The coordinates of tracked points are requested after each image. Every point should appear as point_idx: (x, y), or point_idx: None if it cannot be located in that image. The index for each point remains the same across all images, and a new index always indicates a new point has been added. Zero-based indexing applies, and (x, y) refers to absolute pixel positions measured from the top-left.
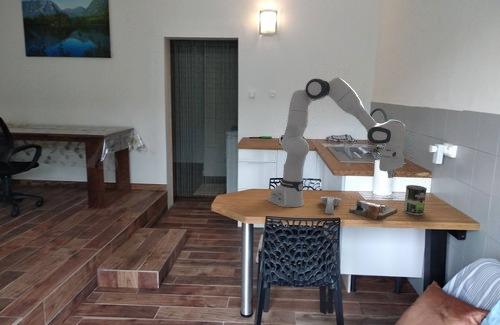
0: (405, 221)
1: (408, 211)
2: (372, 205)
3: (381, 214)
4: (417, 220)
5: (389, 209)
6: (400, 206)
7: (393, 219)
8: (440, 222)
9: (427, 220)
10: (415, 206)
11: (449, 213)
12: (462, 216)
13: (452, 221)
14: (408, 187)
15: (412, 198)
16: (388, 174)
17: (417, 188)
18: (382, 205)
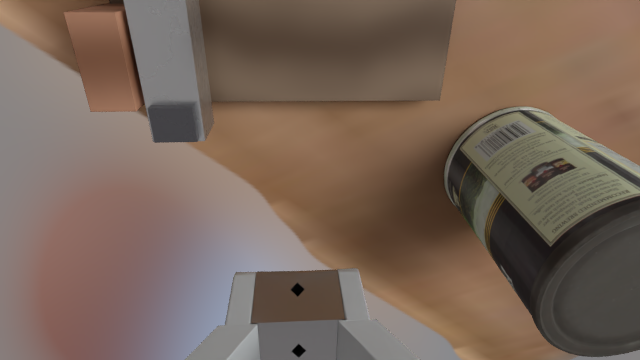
0: (275, 212)
1: (452, 165)
2: (90, 50)
3: (209, 84)
4: (351, 242)
5: (384, 63)
6: (596, 47)
7: (246, 154)
8: (410, 312)
9: (394, 270)
10: (470, 225)
11: None
12: None
13: (469, 333)
14: (582, 250)
15: (492, 239)
16: (218, 338)
17: (601, 306)
18: (181, 115)
